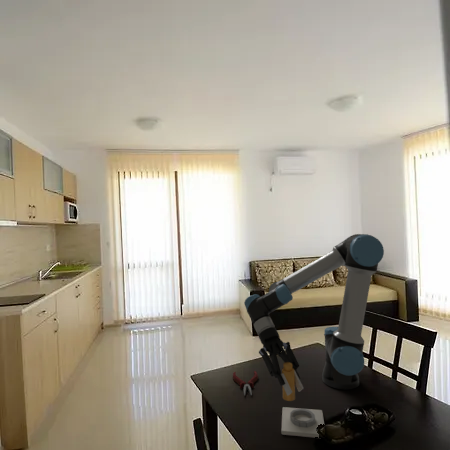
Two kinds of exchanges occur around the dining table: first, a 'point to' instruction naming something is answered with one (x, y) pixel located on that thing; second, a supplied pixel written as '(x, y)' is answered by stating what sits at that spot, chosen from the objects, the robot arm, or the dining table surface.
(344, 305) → the robot arm
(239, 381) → the pliers
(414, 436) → the dining table surface
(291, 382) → the orange peg
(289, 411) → the plate
